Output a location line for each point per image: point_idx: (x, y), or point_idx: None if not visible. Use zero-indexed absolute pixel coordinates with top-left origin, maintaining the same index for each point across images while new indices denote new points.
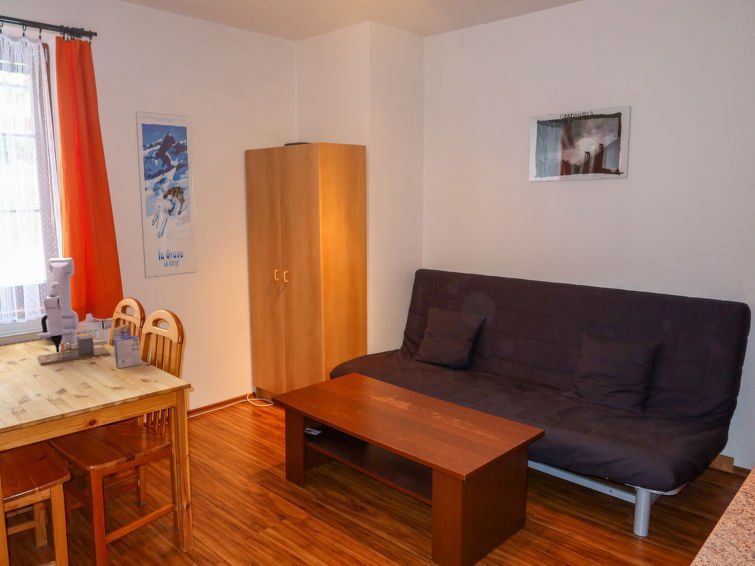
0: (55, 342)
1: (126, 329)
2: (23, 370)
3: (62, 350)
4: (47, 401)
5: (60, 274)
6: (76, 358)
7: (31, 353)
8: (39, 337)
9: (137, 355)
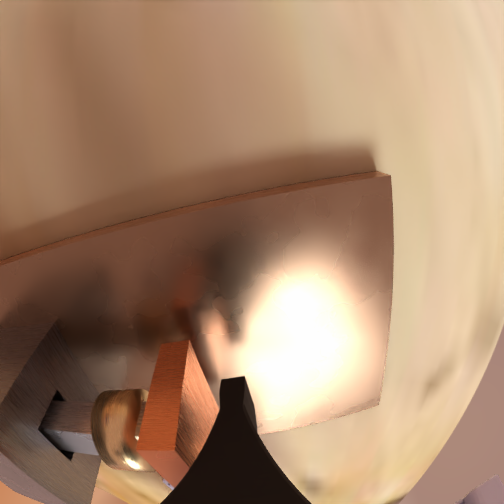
0: (257, 477)
1: None
2: (472, 87)
3: (174, 374)
4: None
5: None
6: (55, 246)
7: (377, 456)
8: (493, 495)
9: None
